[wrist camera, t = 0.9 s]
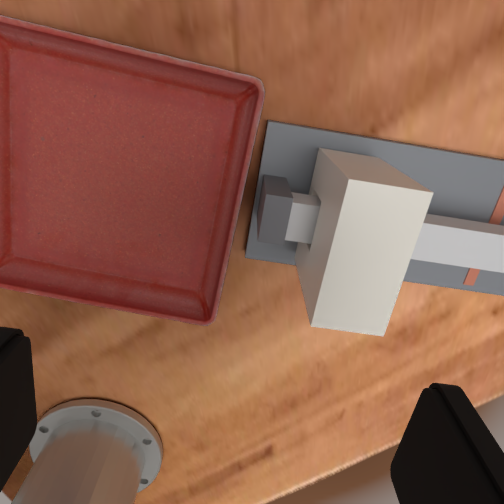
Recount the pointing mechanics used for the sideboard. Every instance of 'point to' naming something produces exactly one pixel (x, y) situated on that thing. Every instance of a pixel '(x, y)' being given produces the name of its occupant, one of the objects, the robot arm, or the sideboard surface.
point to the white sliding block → (359, 241)
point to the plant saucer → (119, 172)
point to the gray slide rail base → (409, 163)
